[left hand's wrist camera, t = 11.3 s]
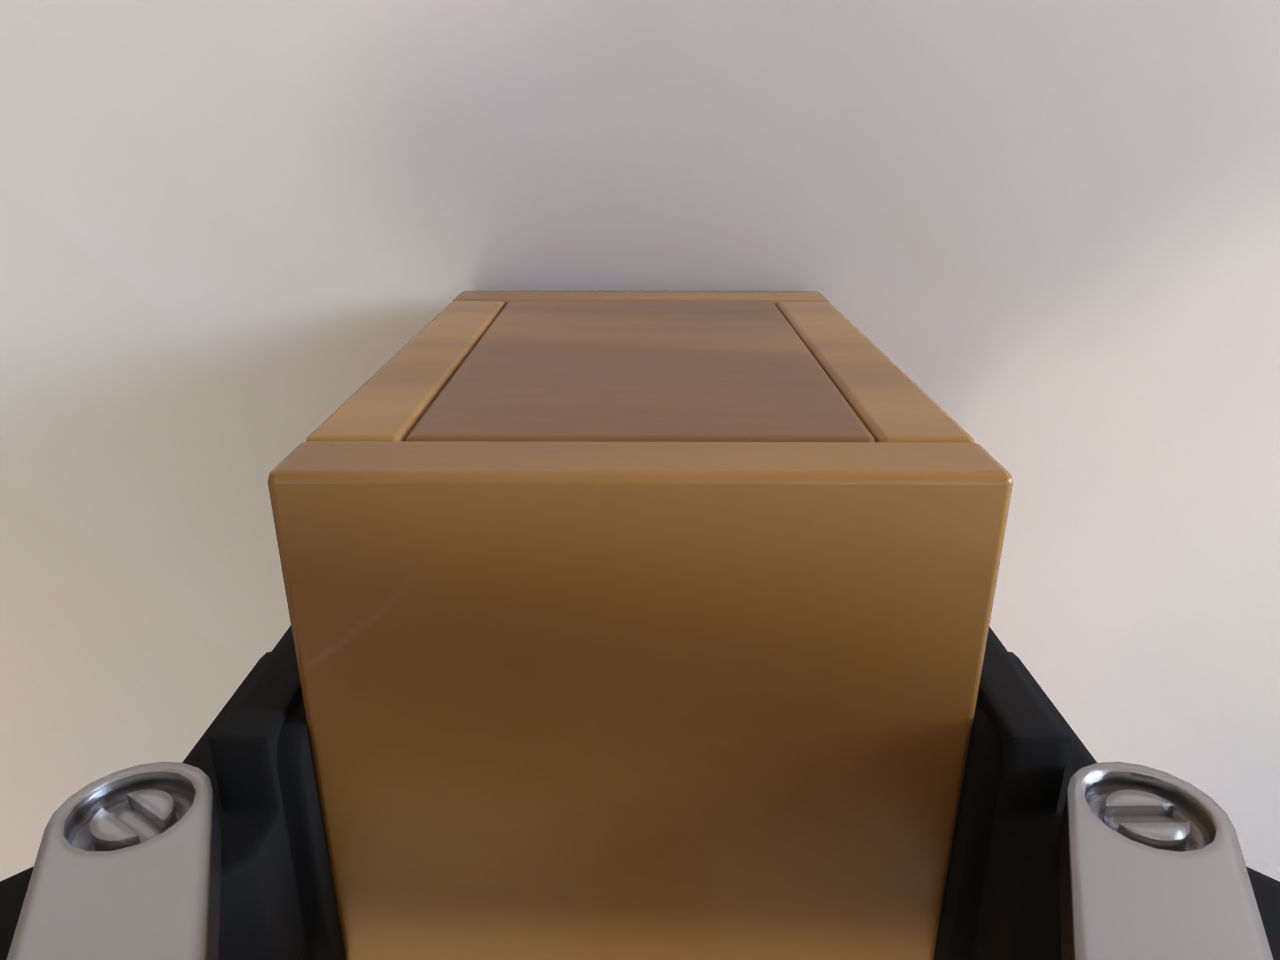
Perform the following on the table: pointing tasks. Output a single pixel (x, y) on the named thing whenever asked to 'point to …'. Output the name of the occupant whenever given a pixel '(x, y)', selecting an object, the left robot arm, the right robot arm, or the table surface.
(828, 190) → the table surface
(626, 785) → the cabinet
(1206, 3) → the table surface
